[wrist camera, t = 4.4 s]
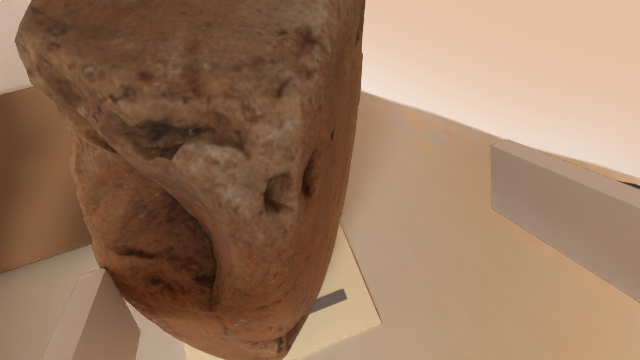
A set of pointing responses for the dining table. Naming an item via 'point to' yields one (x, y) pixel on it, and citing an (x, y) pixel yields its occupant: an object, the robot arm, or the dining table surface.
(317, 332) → the letter
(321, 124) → the brown tall rough part
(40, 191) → the plate
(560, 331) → the dining table surface
